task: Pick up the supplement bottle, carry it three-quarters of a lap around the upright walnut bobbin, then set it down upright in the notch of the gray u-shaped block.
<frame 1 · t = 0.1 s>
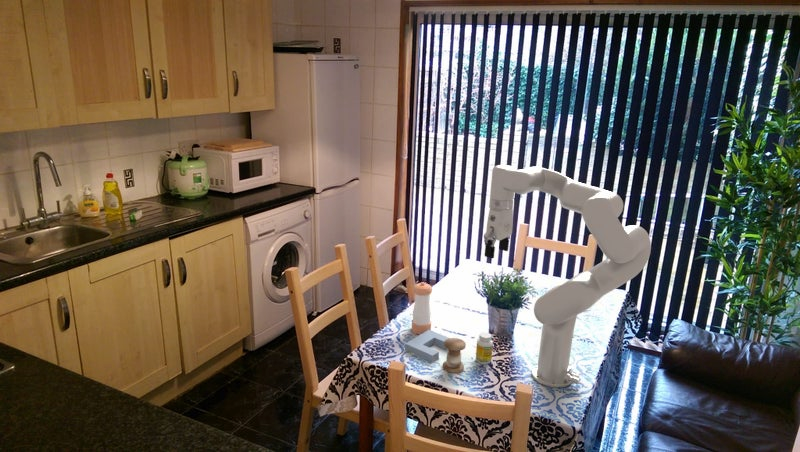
hand: (496, 253, 179), 37 cm above the table, tool pointing down, fingers open, 9 cm apart
pepper shaker: (421, 330, 203), on the table
bobbin: (453, 367, 179), on the table
supplement bottle: (483, 360, 184), on the table
gray u-shaped block: (430, 348, 190), on the table
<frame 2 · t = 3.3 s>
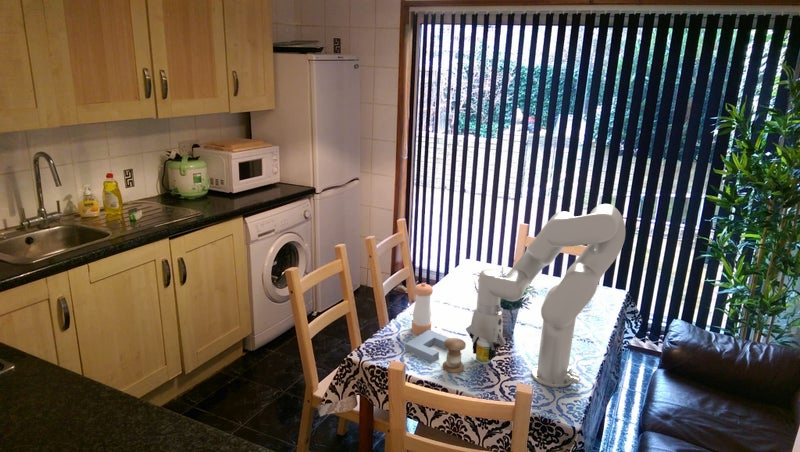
hand: (483, 354, 183), 2 cm above the table, tool pointing down, fingers closed on supplement bottle, 5 cm apart
supplement bottle: (483, 360, 184), on the table, touching gripper
everything else where it was.
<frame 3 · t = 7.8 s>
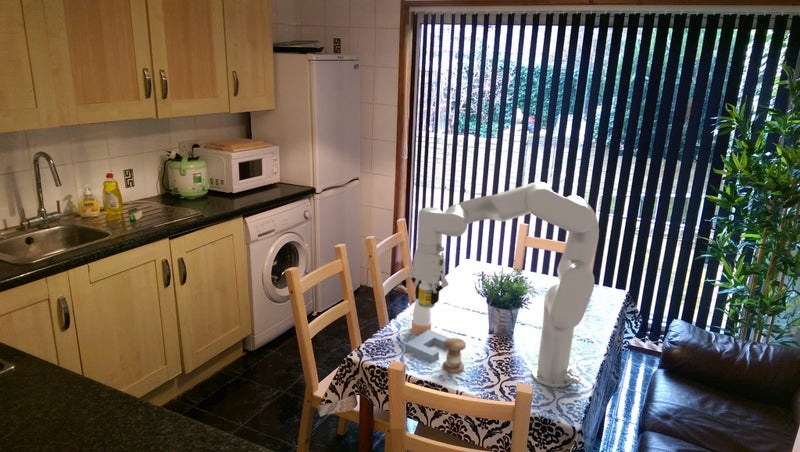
hand: (426, 299, 174), 23 cm above the table, tool pointing down, fingers closed on supplement bottle, 5 cm apart
supplement bottle: (426, 306, 175), point 21 cm above the table, touching gripper
everything else where it was.
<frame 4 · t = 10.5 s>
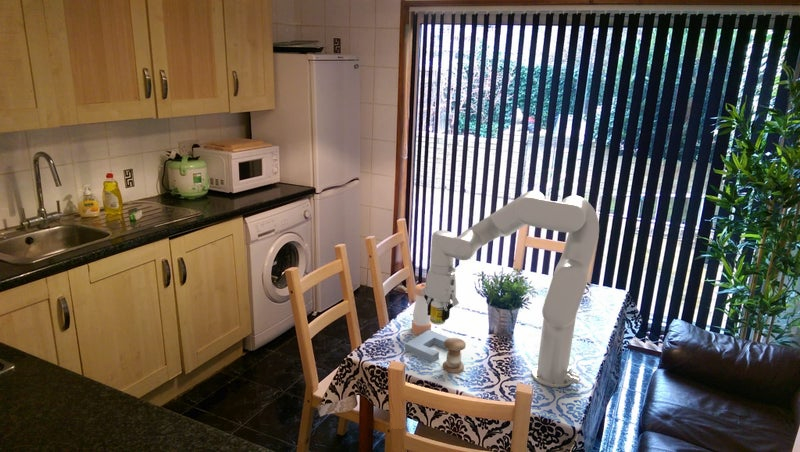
hand: (438, 316, 185), 13 cm above the table, tool pointing down, fingers closed on supplement bottle, 5 cm apart
supplement bottle: (437, 322, 186), point 11 cm above the table, touching gripper
everything else where it was.
when the fingers open (3 cm above the table, at t = 12.8 s): supplement bottle drops 1 cm, on the table.
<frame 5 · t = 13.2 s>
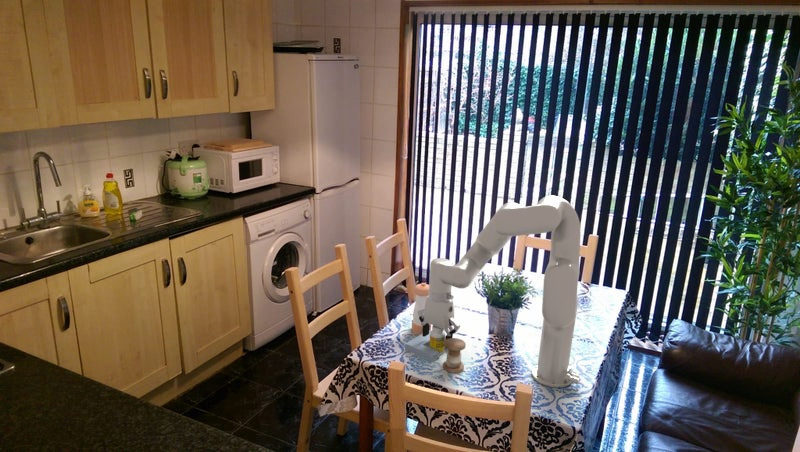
hand: (436, 339, 188), 4 cm above the table, tool pointing down, fingers open, 9 cm apart
supplement bottle: (436, 351, 189), on the table
everything else where it was.
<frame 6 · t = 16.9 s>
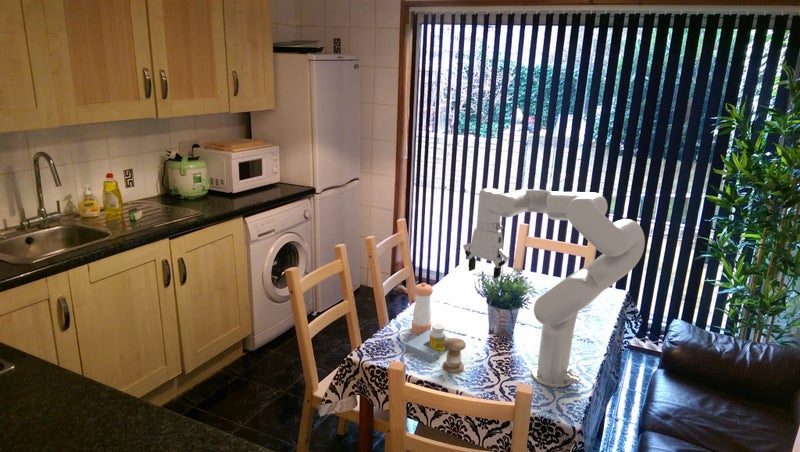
hand: (483, 273, 184), 28 cm above the table, tool pointing down, fingers open, 9 cm apart
nothing on the table moved.
at the end: supplement bottle 0.0 cm from the target spot, on the table; supplement bottle tilted 0°; the gripper is holding nothing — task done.
